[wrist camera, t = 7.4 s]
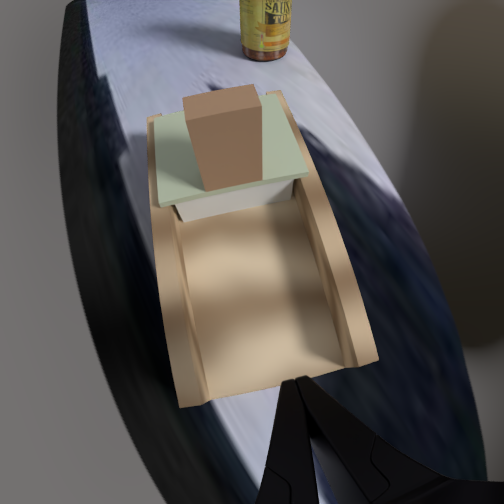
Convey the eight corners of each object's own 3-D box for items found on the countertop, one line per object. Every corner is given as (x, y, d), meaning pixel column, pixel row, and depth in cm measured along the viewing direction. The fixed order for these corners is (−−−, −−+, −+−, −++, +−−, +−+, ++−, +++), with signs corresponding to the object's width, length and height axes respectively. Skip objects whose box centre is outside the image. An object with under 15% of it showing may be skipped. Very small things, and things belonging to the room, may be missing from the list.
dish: (290, 199, 26) (293, 177, 23) (183, 222, 25) (174, 202, 22) (264, 124, 29) (264, 100, 26) (174, 143, 28) (166, 120, 26)
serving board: (367, 359, 22) (388, 356, 18) (185, 402, 21) (169, 409, 17) (285, 119, 30) (288, 89, 26) (151, 147, 29) (139, 119, 26)
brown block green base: (307, 176, 22) (323, 98, 15) (161, 207, 22) (123, 137, 15) (275, 98, 25) (277, 27, 18) (155, 122, 25) (130, 55, 18)
